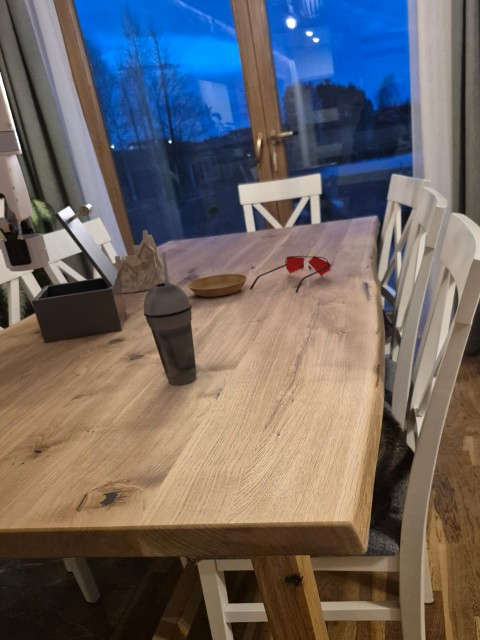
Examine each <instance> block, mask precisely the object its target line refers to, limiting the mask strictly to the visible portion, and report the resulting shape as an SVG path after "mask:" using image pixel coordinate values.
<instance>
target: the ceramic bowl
mask: <svg viewBox="0 0 480 640" xmlns="http://www.w3.org/2000/svg"><path fill="white" fill-rule="evenodd" d="M22 237H23V239H26V243H27V246H28V250H29V253H30V257H31V260H32V263H31V264H28V265H20V266H12V265H11V264H10V260H9V257H8V254H7V251H6V247H5V244H4V241H3V238H0V252H1V254H2V257H3V261H4V264H5V267H6V269H8V270H9V272H13V273H14V272H15V273H16V272H27V271H28V272H29V271H32V270H37V269H41V268H45V267H47V266H49V262H50V257H49V253H48V249H47V245H46V242H45V238H44V235H43V233H36V234H25V235H22Z"/></svg>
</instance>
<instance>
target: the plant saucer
mask: <svg viewBox="0 0 480 640" xmlns="http://www.w3.org/2000/svg"><path fill="white" fill-rule="evenodd" d="M247 280H248V276H247V275H245V274H240V273H223V274H215V275H209V276H204V277H200V278H197V279H194V280H191V281H190V282H188V283H187V284H186V285H187V288H188V289H190V290H191V291H192V292H193V293H194V294H196V295H197V296H200V297H204V298H209V297H210V298H212V297H213V298H214V297H216V298H217V297H223V296H229V295H231V294H234V293H236V292H237V293H238V291H240V290H241V289H242V288H243V286H244V285H245V284H246V282H247Z"/></svg>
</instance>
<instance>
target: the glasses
mask: <svg viewBox="0 0 480 640" xmlns="http://www.w3.org/2000/svg"><path fill="white" fill-rule="evenodd" d="M305 258H310V256H309V255H308V256H305V255H303V256H302V255H289V256H286V258H285V261H284V264H282V265H281V266H278V267H276V268H274V269H270V270H269V271H265V272H264V273H262V274H260V275H258V276H257V277H256V278H255V279H254V281H253V283H252V284H251V286H250V287H249V290H253V289H254V287H255V285H256V283H257V281H258V280H259V279H260V278H261V277H263V276H265V275H267V274H270V273H272V272H275V271H278V270H280V269H283V268H284V267H285V269H286V270H287V272H288V273H289V274H292V273H295V272H297V271H299V270H303V269H304V268H305ZM307 263H308V264H309V265H308V266H307V268H308V269H309V270H310V271H311V270H313V269H314V272H312V273H310V274H308V275H306V276H303V277H302V278H301V279H300V281H299V283H298V285H297V287H296V289H295V290H294V291H295V293H296V294H297V293H299V290H300V288H301V286H302V283H303V281H304V280H305V279H307V278H310V277H311V276H314V275H316V274H318V275H319V276H320V277H322V276H324V275H325V274H326V273H329V272H330V271H331V268H332V264H331V262H329V261H328V259H327V258H326V257H324V256H317V255H313V256H312V257H311V258H310V259H309V260H308V262H307Z"/></svg>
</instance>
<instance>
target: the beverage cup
mask: <svg viewBox="0 0 480 640" xmlns="http://www.w3.org/2000/svg"><path fill="white" fill-rule="evenodd" d="M161 253H162V264H163V267H164V277H165V283H161V284H157V285H155V286H154V287H152V288H151V289H150V290H147V293H146V295H145V297H144V301H143V316H144V317H145V320H146V322H147V324H148V327H149V328H150V330H151V333H152V337H153V340H154V343H155V347H156V350H157V353H158V356H159V359H160V361H161V365H162V367H163V371H164V374H165V376H166V378H167V381H168V382H167V383H169V385H171V384H172V385H171V386H184V385H187V383H188V384H191V383H193V382H195V381H196V380H197V378H198V377H197V364H196V354H195V346H194V345H195V344H194V337H193V329H192V319H193V317H192V309H193V306H192V304H191V301H190V298H189V297H188V295H187V293H186V291H184V289H182V287H180V286H179V285H176V284H174V283H171V282H170V281H169V282H168V276H169V273H168V262H167V252H161ZM195 379H196V380H195ZM192 381H193V382H192ZM183 384H184V385H183Z"/></svg>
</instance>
